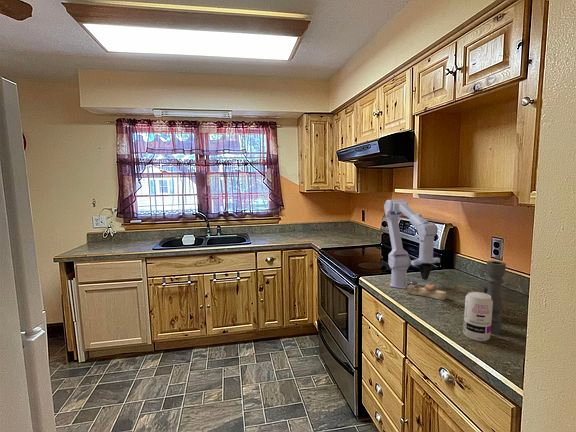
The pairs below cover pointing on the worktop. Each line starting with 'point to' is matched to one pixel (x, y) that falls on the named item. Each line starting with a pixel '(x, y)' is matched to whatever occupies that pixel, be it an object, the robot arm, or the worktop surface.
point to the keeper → (429, 286)
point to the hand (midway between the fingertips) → (424, 279)
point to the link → (426, 292)
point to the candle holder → (495, 292)
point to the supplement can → (478, 316)
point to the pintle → (413, 283)
